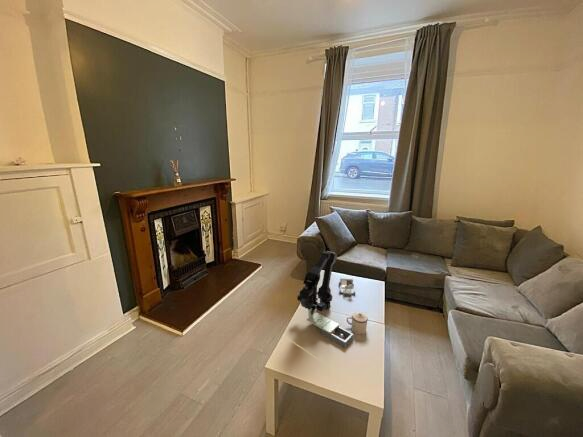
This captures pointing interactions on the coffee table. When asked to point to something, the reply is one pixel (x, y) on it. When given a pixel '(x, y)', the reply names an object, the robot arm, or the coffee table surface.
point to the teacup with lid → (358, 322)
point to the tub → (335, 337)
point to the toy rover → (346, 286)
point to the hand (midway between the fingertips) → (311, 314)
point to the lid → (322, 322)
